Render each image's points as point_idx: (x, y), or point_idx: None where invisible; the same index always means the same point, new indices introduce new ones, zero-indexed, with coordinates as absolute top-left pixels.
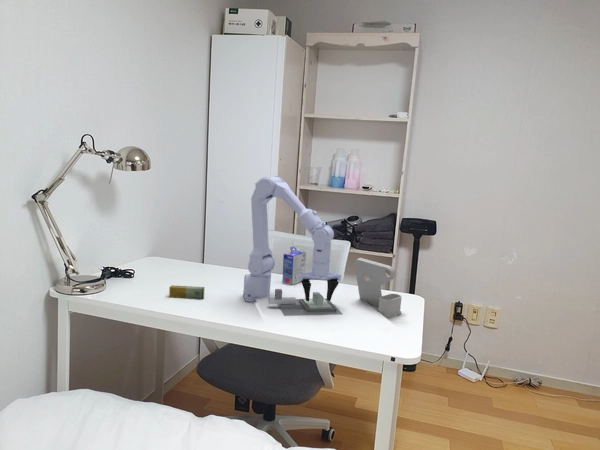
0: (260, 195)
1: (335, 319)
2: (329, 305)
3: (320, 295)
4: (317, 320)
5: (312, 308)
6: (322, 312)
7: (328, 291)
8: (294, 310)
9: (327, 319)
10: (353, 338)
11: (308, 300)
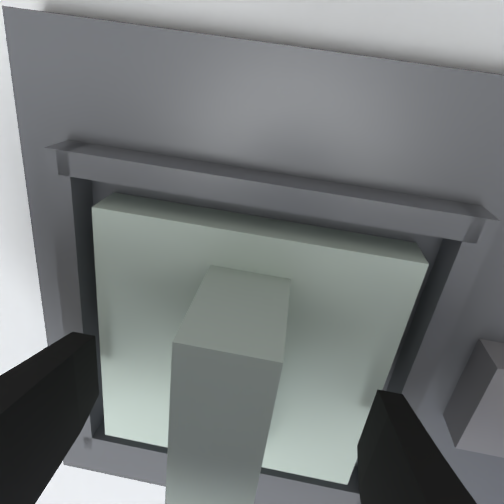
0: None
1: (144, 7)
2: (115, 262)
3: (191, 429)
4: (403, 19)
5: (399, 229)
6: (273, 143)
7: (17, 481)
8: None
9: (249, 30)
10: None
11: (392, 398)
